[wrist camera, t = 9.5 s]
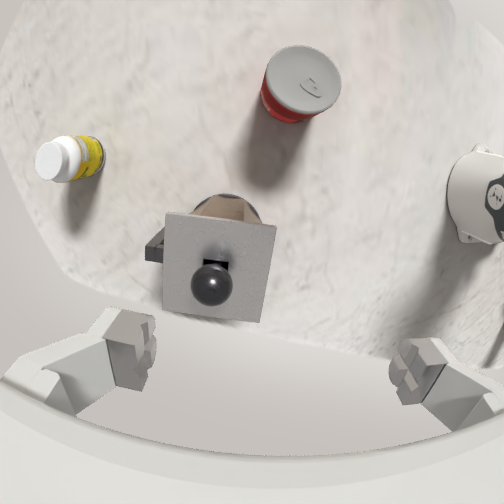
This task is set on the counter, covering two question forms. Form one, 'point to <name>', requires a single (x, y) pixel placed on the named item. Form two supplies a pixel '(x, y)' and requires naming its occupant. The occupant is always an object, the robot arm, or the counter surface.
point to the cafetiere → (215, 256)
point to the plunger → (211, 284)
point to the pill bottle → (70, 158)
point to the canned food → (299, 84)
